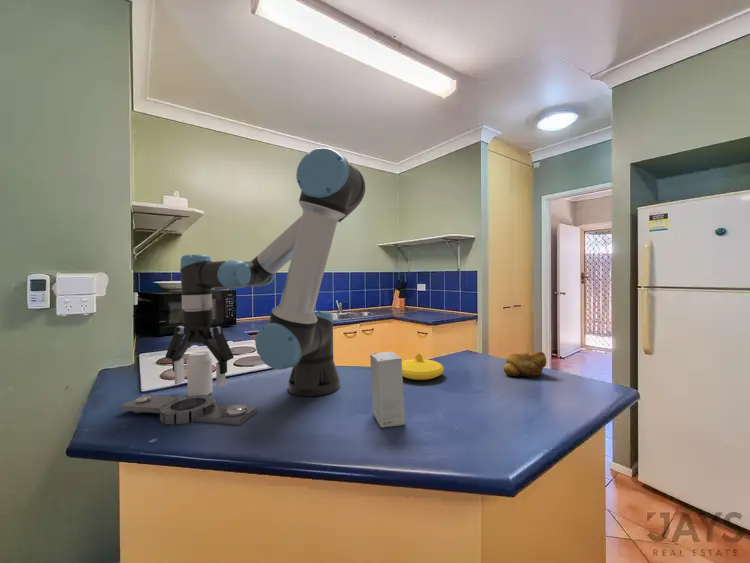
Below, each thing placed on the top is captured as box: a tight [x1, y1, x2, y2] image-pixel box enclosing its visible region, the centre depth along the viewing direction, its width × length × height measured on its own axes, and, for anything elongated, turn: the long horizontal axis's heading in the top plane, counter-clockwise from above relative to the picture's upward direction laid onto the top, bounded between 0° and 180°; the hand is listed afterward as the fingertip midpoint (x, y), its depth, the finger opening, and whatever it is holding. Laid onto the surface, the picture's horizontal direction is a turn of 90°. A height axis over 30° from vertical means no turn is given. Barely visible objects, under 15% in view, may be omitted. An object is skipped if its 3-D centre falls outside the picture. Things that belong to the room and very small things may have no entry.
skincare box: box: [369, 351, 406, 428], centre depth 74 cm, size 8×6×15 cm
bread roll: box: [503, 351, 547, 378], centre depth 104 cm, size 13×10×8 cm
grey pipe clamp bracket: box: [119, 394, 258, 426], centre depth 80 cm, size 33×12×3 cm, turn 78°
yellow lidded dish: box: [402, 353, 445, 381], centre depth 105 cm, size 16×16×7 cm
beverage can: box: [186, 351, 214, 397], centre depth 92 cm, size 6×6×12 cm
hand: (200, 384), depth 92 cm, fingers open, 13 cm apart
